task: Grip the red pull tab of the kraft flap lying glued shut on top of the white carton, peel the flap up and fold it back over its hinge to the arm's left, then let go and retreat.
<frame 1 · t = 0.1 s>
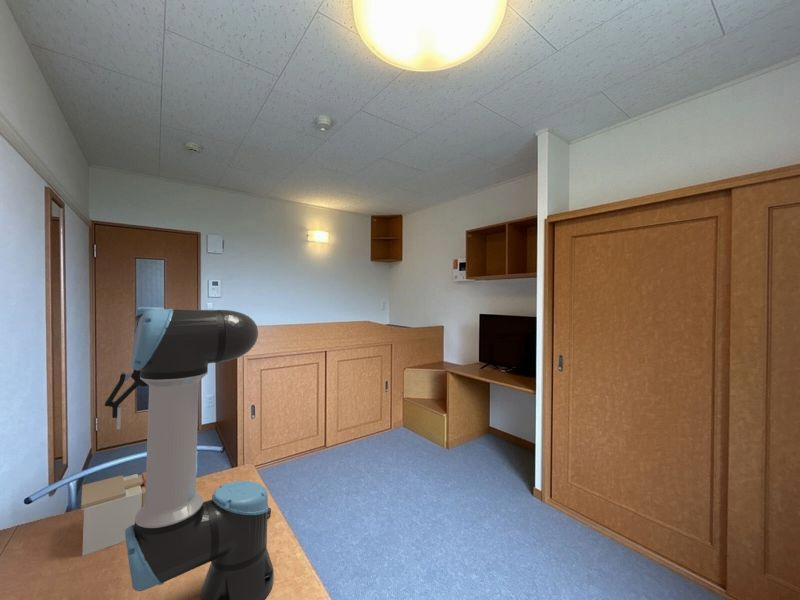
hand: (146, 423, 106), 28 cm above the table, fingers open, 13 cm apart
flap: (125, 484, 98), point 13 cm above the table, hinge at 0.0°
box: (228, 527, 100), on the table
carton: (111, 532, 96), on the table
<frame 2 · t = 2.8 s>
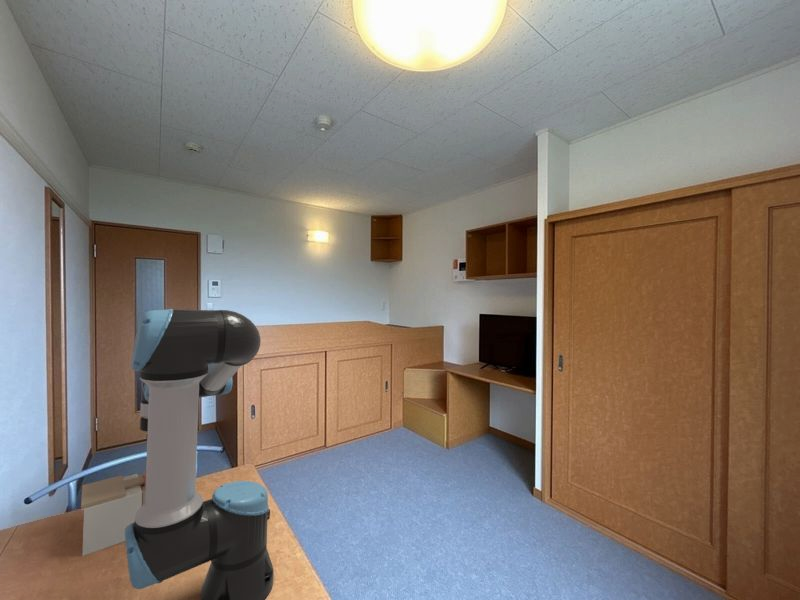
hand: (153, 490, 103), 8 cm above the table, fingers closed on flap, 6 cm apart
flap: (125, 484, 98), point 13 cm above the table, hinge at 0.0°, touching carton, gripper
everything else where it was.
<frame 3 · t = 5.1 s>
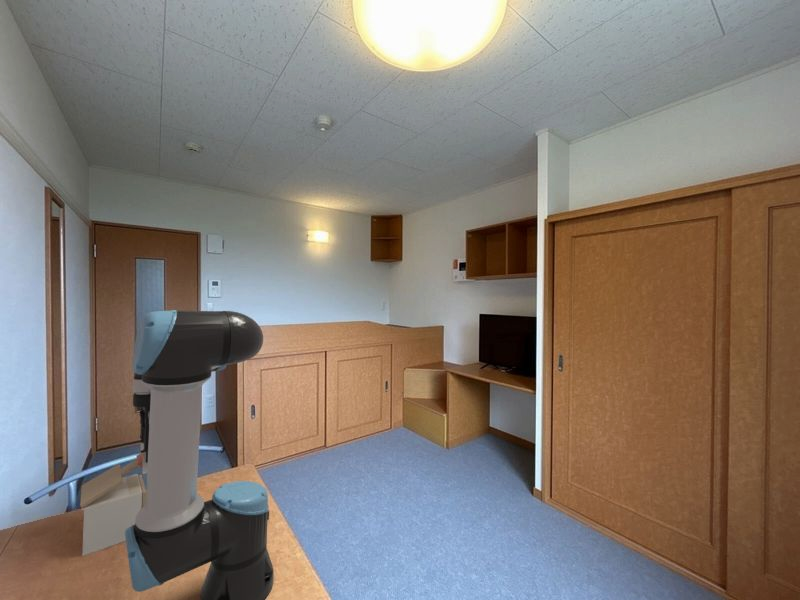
hand: (146, 467, 102), 16 cm above the table, fingers closed on flap, 6 cm apart
flap: (121, 472, 98), point 17 cm above the table, hinge at 25.1°, touching gripper
everything else where it was.
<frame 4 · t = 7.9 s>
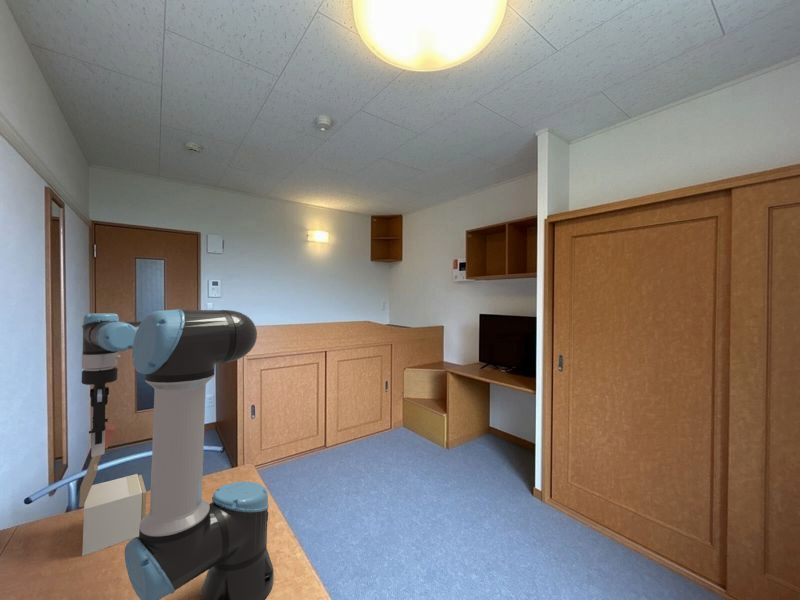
hand: (98, 450, 94), 24 cm above the table, fingers closed on flap, 6 cm apart
flap: (96, 460, 94), point 21 cm above the table, hinge at 73.1°, touching gripper
everything else where it was.
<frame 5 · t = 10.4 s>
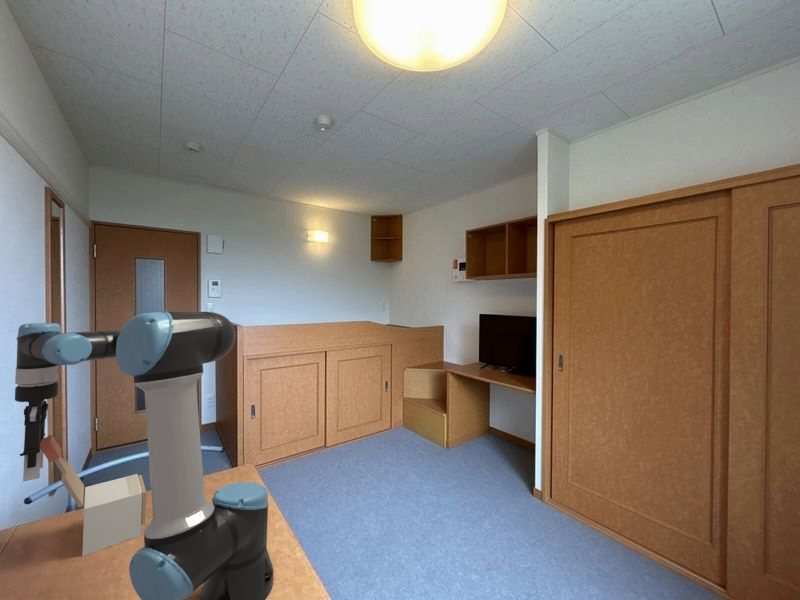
hand: (33, 473, 86), 22 cm above the table, fingers closed on flap, 6 cm apart
flap: (64, 468, 90), point 21 cm above the table, hinge at 113.1°, touching gripper
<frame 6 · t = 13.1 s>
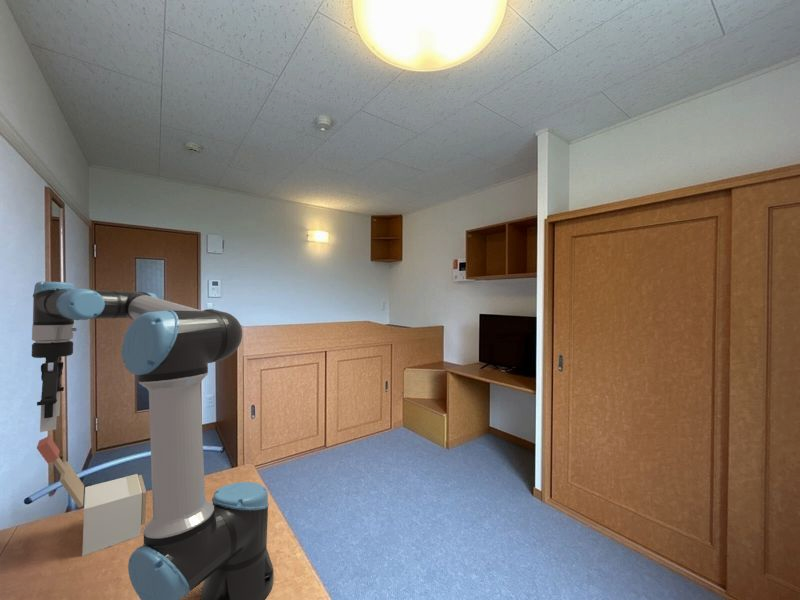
hand: (50, 423, 87), 34 cm above the table, fingers open, 13 cm apart
flap: (62, 469, 90), point 21 cm above the table, hinge at 114.7°
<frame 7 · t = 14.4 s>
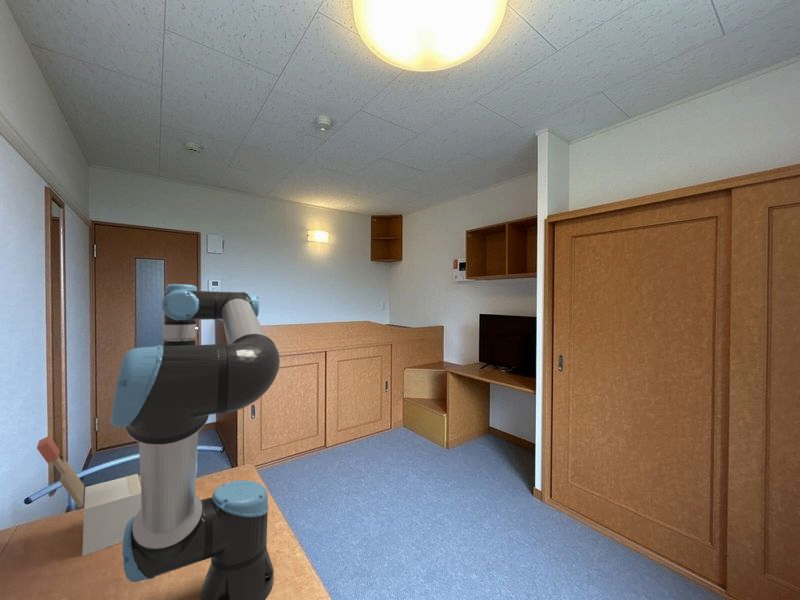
hand: (177, 416, 93), 35 cm above the table, fingers open, 13 cm apart
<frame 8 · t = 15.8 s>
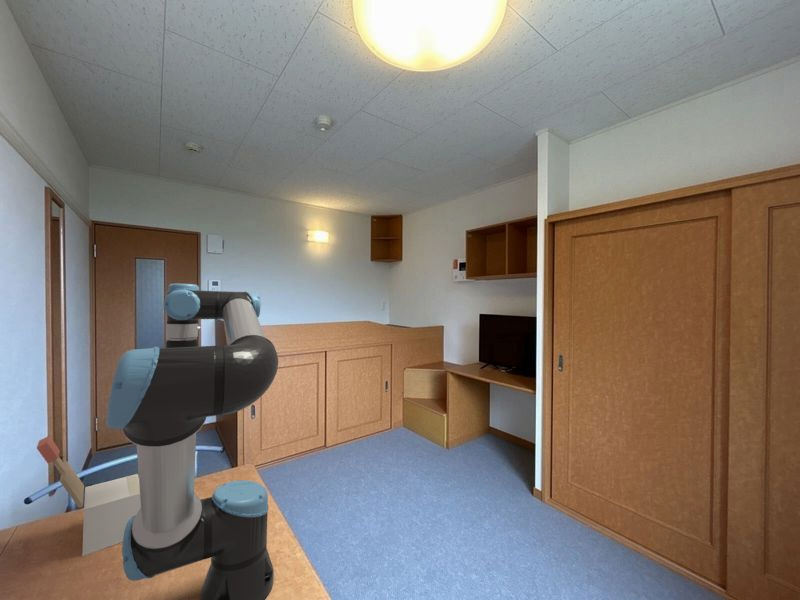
hand: (179, 415, 94), 35 cm above the table, fingers open, 13 cm apart
at the end: flap at +115° (first picture: +0°); the gripper is holding nothing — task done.
